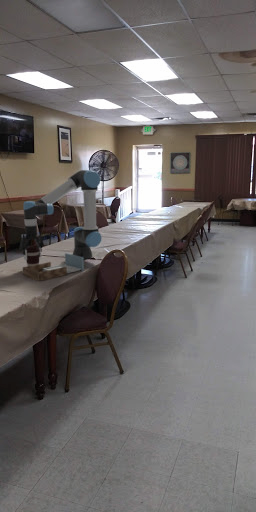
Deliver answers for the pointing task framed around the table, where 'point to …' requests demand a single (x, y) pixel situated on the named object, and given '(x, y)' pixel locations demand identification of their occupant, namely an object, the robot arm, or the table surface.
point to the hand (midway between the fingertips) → (32, 258)
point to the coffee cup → (32, 255)
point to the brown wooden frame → (37, 273)
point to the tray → (70, 264)
